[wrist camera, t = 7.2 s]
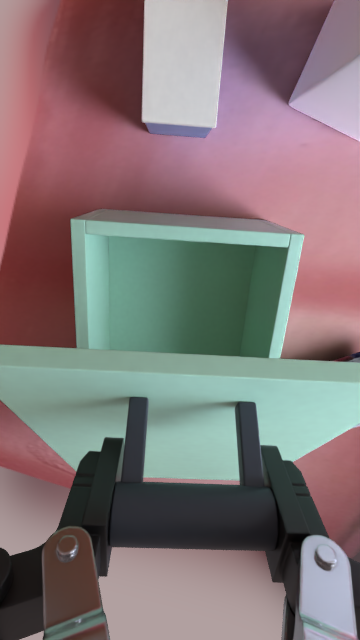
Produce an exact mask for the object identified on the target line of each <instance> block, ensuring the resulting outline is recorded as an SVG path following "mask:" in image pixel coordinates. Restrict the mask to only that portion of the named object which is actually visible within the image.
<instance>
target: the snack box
mask: <svg viewBox="0 0 360 640" xmlns="http://www.w3.org/2000/svg"><path fill="white" fill-rule="evenodd" d="M227 4H228V0H144V32H143V76H142V119H141V120H142V122H143V123H145V124H146V126H147V128H148V131H149V133H150V134H162V135H175V136H188V137H200V138H205V137H206V136H207V135H208V133H209V132H210V130H211V129H212V128H215V127H216V122H217V111H218V100H219V90H220V79H221V68H222V58H223V47H224V36H225V26H226V15H227Z"/></svg>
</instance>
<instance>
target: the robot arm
mask: <svg viewBox="0 0 360 640" xmlns="http://www.w3.org/2000/svg"><path fill="white" fill-rule="evenodd" d="M260 446H261V456H262V466H263V475H264V485H265V486H267V487H269V488H270V489H271V491H272V493H273V496H274V499H275V502H276V506H277V512H278V521H279V535H278V543H277V546H276V548H275V550H273V551H265V552H266V556H267V560H268V565H269V569H270V572H271V577H272V581H273V582H280V583H281V582H282V583H284V587H285V591H286V596H285V600H284V610H283V625H282V640H360V563H359V562H357V561H354V560H352V559H351V558H349V557H347V555H346V554H345V552H344V551H343V549H342V548H341V547H340V546H339V545H338V544H337V543H335V542H334V541H333V540H331V539H330V538H329V536H328V534H327V532H326V529H325V527H324V525H323V522H322V520H321V518H320V515H319V513H318V511H317V508H316V506H315V504H314V501H313V499H312V497H311V496H310V492H309V490H308V487H307V486H306V483H305V480H304V478H303V476H302V473H301V471H300V470H299V469H298V468H297V467H296V466H295V465H294V464H293V462H292V461H289V460H282V457H281V454H280V452H279V449H278V447H277V446H273V445H260ZM123 454H124V438H113V437H105V438H104V441H103V445H102V448H101V451H89V452H88V453H87V454H86V455H85V456H84V457H83V458H82V460H81V461H80V463H79V466H78V469H77V472H76V476H75V478H74V481H73V485H72V487H71V490H70V493H69V496H68V499H67V502H66V505H65V508H64V511H63V514H62V517H61V520H60V523H59V526H58V528H57V530H56V532H55V533H53V534H52V535H51V536H50V537H49V539H48V540H47V541H46V542H45V543H44V544H42V545H41V546H39V547H37V548H35V549H32V550H29V551H26V552H22V553H19V554H15V555H12V556H9V554H8V552H7V551H6V550H4V549H2V548H0V640H19V639H22V638H25V637H28V636H30V635H33V634H36V633H38V632H41V631H44V636H43V640H110V636H109V630H108V624H107V620H106V615H105V613H104V611H103V607H102V600H101V594H100V588H99V582H98V579H99V576H107V572H108V567H109V561H110V555H111V549H112V547H111V546H110V544H109V522H110V511H111V504H112V497H113V492H114V487H115V484H116V482H118V481H121V473H122V464H123Z"/></svg>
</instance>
